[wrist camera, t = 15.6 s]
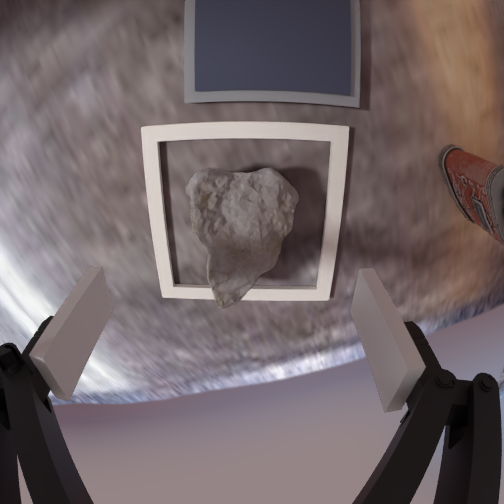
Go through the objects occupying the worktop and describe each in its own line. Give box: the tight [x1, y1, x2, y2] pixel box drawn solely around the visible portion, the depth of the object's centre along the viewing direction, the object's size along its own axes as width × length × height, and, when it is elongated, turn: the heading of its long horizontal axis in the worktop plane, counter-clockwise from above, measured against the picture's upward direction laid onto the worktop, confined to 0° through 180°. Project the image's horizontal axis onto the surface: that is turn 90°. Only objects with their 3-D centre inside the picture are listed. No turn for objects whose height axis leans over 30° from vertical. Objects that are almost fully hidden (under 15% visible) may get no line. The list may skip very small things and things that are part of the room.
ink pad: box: [184, 0, 361, 108], centre depth 17 cm, size 12×12×1 cm
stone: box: [185, 167, 299, 308], centre depth 22 cm, size 10×8×6 cm
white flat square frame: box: [141, 121, 349, 301], centre depth 24 cm, size 15×15×1 cm
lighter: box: [438, 145, 504, 246], centre depth 18 cm, size 8×3×10 cm, turn 44°
